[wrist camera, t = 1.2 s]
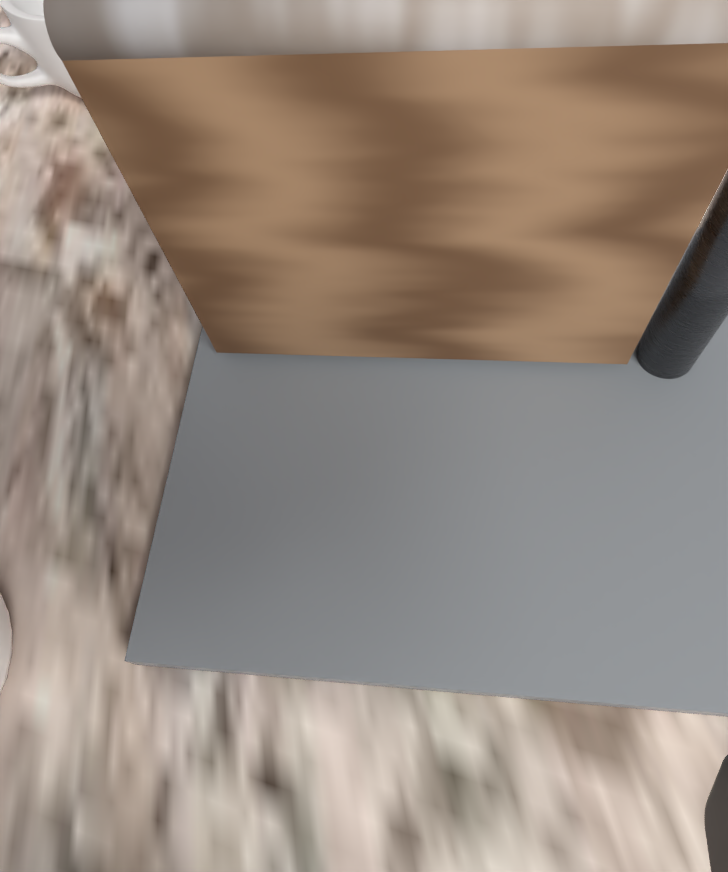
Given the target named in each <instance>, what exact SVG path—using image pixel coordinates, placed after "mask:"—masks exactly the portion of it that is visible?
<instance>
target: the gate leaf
mask: <svg viewBox="0 0 728 872" xmlns="http://www.w3.org/2000/svg"><path fill="white" fill-rule="evenodd" d="M43 11H44V19H45V24H46V29H47V32H48V35H49V38H50V41H51V43H52V46H53V48H54V50H55V52H56V53H57V55H58V56H59V58H60V59H61V60H62V62H63V64H64V66H65V68H66V70H67V71H68V73H69V75H70V77H71V79H72V81H73V83H74V85H75V87H76V88H77V90H78V92H79V94H80V96H81V98H82V100H83V102H84V103H85V105H86V107H87V109H88V111H89V113H90V115H91V117H92V119H93V120H94V122H95V124H96V126H97V128H98V130H99V132H100V134H101V136H102V137H103V139H104V141H105V143H106V145H107V147H108V149H109V151H110V152H111V154H112V156H113V158H114V160H115V162H116V164H117V166H118V168H119V169H120V171H121V173H122V175H123V177H124V179H125V181H126V183H127V185H128V186H129V188H130V190H131V192H132V194H133V196H134V198H135V200H136V201H137V203H138V205H139V207H140V209H141V211H142V213H143V215H144V217H145V218H146V220H147V222H148V224H149V226H150V228H151V230H152V232H153V233H154V235H155V237H156V239H157V241H158V243H159V245H160V247H161V249H162V250H163V252H164V254H165V256H166V258H167V260H168V262H169V264H170V266H171V267H172V269H173V271H174V273H175V275H176V277H177V279H178V281H179V282H180V284H181V286H182V288H183V290H184V292H185V294H186V296H187V298H188V299H189V301H190V303H191V305H192V307H193V309H194V311H195V313H196V315H197V316H198V318H199V320H200V322H201V324H202V326H203V328H204V330H205V331H206V333H207V335H208V337H209V339H210V341H211V343H212V345H213V347H214V348H215V350H216V352H217V353H248V354H283V355H319V356H354V357H389V358H424V359H459V360H494V361H529V362H564V363H599V364H628V362H629V360H630V358H631V356H632V354H633V352H634V350H635V348H636V346H637V344H638V342H639V340H640V338H641V337H642V335H643V333H644V331H645V329H646V327H647V325H648V323H649V321H650V319H651V317H652V315H653V313H654V311H655V309H656V307H657V305H658V303H659V302H660V300H661V298H662V296H663V294H664V292H665V290H666V288H667V286H668V284H669V282H670V280H671V278H672V276H673V274H674V272H675V270H676V268H677V266H678V265H679V263H680V261H681V259H682V257H683V255H684V253H685V251H686V249H687V247H688V245H689V243H690V241H691V239H692V237H693V235H694V233H695V231H696V230H697V228H698V226H699V224H700V222H701V220H702V218H703V216H704V214H705V212H706V210H707V208H708V206H709V204H710V202H711V200H712V198H713V196H714V195H715V193H716V191H717V189H718V187H719V185H720V183H721V181H722V179H723V177H724V175H725V173H726V171H727V169H728V0H43Z"/></svg>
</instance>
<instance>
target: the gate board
mask: <svg viewBox="0 0 728 872" xmlns="http://www.w3.org/2000/svg"><path fill="white" fill-rule="evenodd" d="M697 229H698V228H697ZM696 231H697V230H696ZM696 231H695V233H696ZM695 233H694V235H695ZM694 235H693V237H694ZM693 237H692V238H693ZM691 240H692V239H691ZM690 242H691V241H690ZM689 244H690V243H689ZM688 246H689V245H688ZM687 248H688V247H687ZM686 250H687V249H686ZM685 252H686V251H685ZM684 254H685V253H684ZM683 256H684V255H683ZM682 258H683V257H682ZM681 260H682V259H681ZM680 262H681V261H680ZM679 264H680V263H679ZM678 266H679V265H678ZM678 266H677V268H678ZM677 268H676V270H677ZM676 270H675V271H676ZM674 273H675V272H674ZM673 275H674V274H673ZM672 277H673V276H672ZM671 279H672V278H671ZM670 281H671V280H670ZM669 283H670V282H669ZM668 285H669V284H668ZM667 287H668V286H667ZM666 289H667V288H666ZM665 291H666V290H665ZM664 293H665V292H664ZM663 295H664V294H663ZM662 297H663V296H662ZM661 299H662V298H661ZM660 301H661V300H660ZM659 303H660V302H659ZM659 303H658V304H659ZM657 306H658V305H657ZM656 308H657V307H656ZM655 310H656V309H655ZM654 312H655V311H654ZM653 314H654V313H653ZM652 316H653V315H652ZM651 318H652V317H651ZM650 320H651V319H650ZM649 322H650V321H649ZM648 324H649V323H648ZM647 326H648V325H647ZM646 328H647V327H646ZM645 330H646V329H645ZM644 332H645V331H644ZM643 334H644V333H643ZM642 336H643V335H642ZM640 339H641V338H640ZM639 341H640V340H639ZM638 343H639V342H638ZM637 345H638V344H637ZM636 348H637V346H636ZM636 348H635V350H634V352H633V354H632V356H631V358H630V360H629V362H628V364H599V363H564V362H529V361H494V360H459V359H424V358H389V357H354V356H319V355H283V354H248V353H217V352H216V350H215V348H214V347H213V345H212V343H211V341H210V339H209V337H208V335H207V333H206V331H205V330H204V328H203V326H202V331H201V335H200V339H199V344H198V348H197V352H196V356H195V361H194V365H193V369H192V374H191V378H190V382H189V386H188V391H187V395H186V399H185V404H184V408H183V412H182V417H181V421H180V425H179V429H178V434H177V438H176V442H175V447H174V451H173V455H172V459H171V464H170V468H169V472H168V477H167V481H166V485H165V489H164V494H163V498H162V502H161V507H160V511H159V515H158V519H157V524H156V528H155V532H154V537H153V541H152V545H151V550H150V554H149V558H148V562H147V567H146V571H145V575H144V580H143V584H142V588H141V592H140V597H139V601H138V605H137V610H136V614H135V618H134V622H133V627H132V631H131V635H130V640H129V644H128V648H127V652H126V657H125V661H127V662H130V663H133V664H137V665H147V666H158V667H169V668H181V669H192V670H204V671H215V672H226V673H238V674H249V675H261V676H272V677H283V678H295V679H306V680H318V681H329V682H340V683H352V684H363V685H374V686H386V687H397V688H409V689H420V690H431V691H443V692H454V693H466V694H477V695H488V696H500V697H511V698H523V699H534V700H545V701H557V702H568V703H580V704H591V705H602V706H614V707H625V708H636V709H648V710H659V711H671V712H682V713H693V714H705V715H716V716H728V316H727V317H726V318H725V320H724V321H723V323H722V324H721V326H720V327H719V329H718V330H717V332H716V333H715V335H714V336H713V337H712V339H711V340H710V342H709V343H708V345H707V346H706V348H705V349H704V351H703V352H702V353H701V355H700V356H699V358H698V359H697V361H696V362H695V364H694V365H693V367H692V368H691V369H690V371H689V372H688V373H686V374H685V375H683V376H681V377H679V378H675V379H663V378H659V377H656V376H653V375H651V374H649V373H648V372H647V371H645V370H644V369H643V368H642V367H641V365H640V364H639V362H638V360H637V357H636Z"/></svg>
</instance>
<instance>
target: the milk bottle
mask: <svg viewBox="0 0 728 872" xmlns="http://www.w3.org/2000/svg"><path fill="white" fill-rule="evenodd" d="M11 656H12V628H11V623H10V616H9V612H8V610H7V608H6V605H5V602H4V599H3V597H2V595H1V593H0V694H1V691H2V688H3V686H4V684H5V681H6V679H7V676H8V670H9V665H10V660H11Z"/></svg>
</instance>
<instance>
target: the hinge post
mask: <svg viewBox="0 0 728 872" xmlns="http://www.w3.org/2000/svg"><path fill="white" fill-rule="evenodd" d="M727 316H728V171H727V172H726V174H725V176H724V178H723V180H722V182H721V184H720V186H719V188H718V190H717V192H716V194H715V196H714V198H713V200H712V202H711V204H710V205H709V207H708V209H707V211H706V213H705V215H704V217H703V219H702V221H701V223H700V225H699V227H698V229H697V231H696V233H695V235H694V237H693V238H692V240H691V242H690V244H689V246H688V248H687V250H686V252H685V254H684V256H683V258H682V260H681V262H680V264H679V266H678V268H677V270H676V271H675V273H674V275H673V277H672V279H671V281H670V283H669V285H668V287H667V289H666V291H665V293H664V295H663V297H662V299H661V301H660V303H659V304H658V306H657V308H656V310H655V312H654V314H653V316H652V318H651V320H650V322H649V324H648V326H647V328H646V330H645V332H644V334H643V336H642V337H641V339H640V341H639V343H638V345H637V348H636V357H637V360H638V362H639V364H640V365H641V367H642V368H643V369H644V370H645V371H647V372H648V373H649V374H651V375H653V376H656V377H659V378H663V379H675V378H679V377H681V376H683V375H685V374H686V373H688V372H689V371H690V369H691V368H692V367H693V365H694V364H695V362H696V361H697V359H698V358H699V356H700V355H701V353H702V352H703V351H704V349H705V348H706V346H707V345H708V343H709V342H710V340H711V339H712V337H713V336H714V335H715V333H716V332H717V330H718V329H719V327H720V326H721V324H722V323H723V321H724V320H725V318H726V317H727Z"/></svg>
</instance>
